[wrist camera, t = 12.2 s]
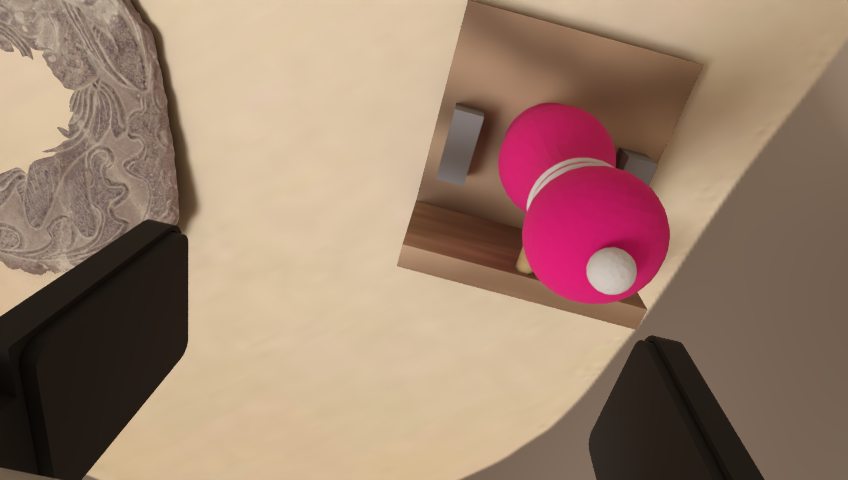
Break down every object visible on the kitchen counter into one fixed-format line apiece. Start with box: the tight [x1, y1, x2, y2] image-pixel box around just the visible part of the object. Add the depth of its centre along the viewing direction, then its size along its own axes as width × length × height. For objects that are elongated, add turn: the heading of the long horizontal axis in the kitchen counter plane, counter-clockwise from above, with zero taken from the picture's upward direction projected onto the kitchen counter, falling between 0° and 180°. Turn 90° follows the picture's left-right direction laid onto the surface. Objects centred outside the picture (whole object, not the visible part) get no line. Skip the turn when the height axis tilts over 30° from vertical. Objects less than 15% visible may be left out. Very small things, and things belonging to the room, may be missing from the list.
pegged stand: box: [397, 0, 703, 329], centre depth 33 cm, size 16×16×10 cm
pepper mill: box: [498, 103, 670, 304], centre depth 27 cm, size 7×7×20 cm
